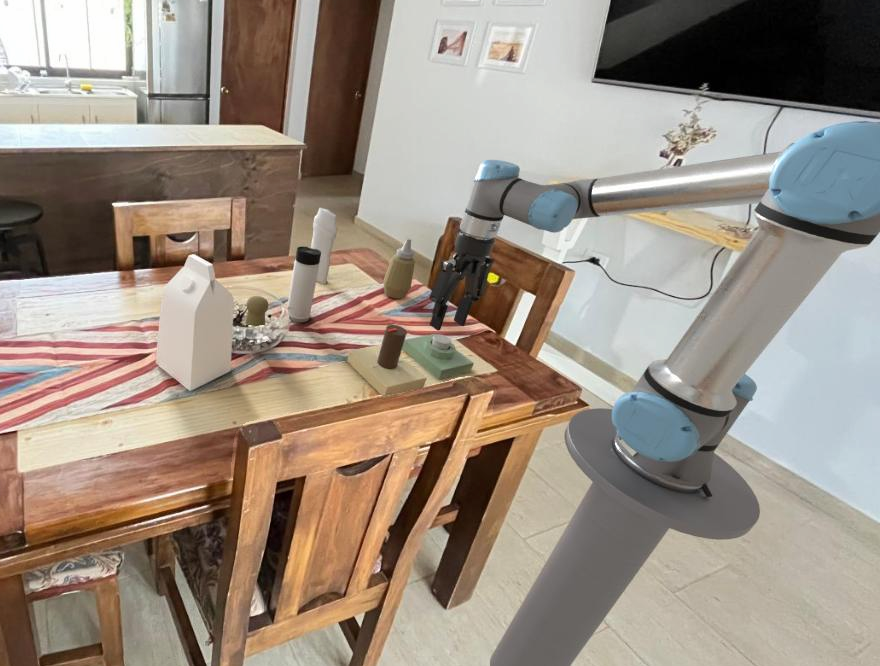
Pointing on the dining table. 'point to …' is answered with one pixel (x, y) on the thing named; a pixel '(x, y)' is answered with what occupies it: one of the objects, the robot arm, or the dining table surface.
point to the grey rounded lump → (441, 342)
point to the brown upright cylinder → (391, 346)
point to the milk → (195, 325)
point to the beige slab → (385, 372)
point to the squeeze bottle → (400, 272)
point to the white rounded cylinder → (324, 240)
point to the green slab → (437, 357)
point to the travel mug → (303, 283)
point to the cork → (256, 310)
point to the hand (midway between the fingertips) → (446, 325)
